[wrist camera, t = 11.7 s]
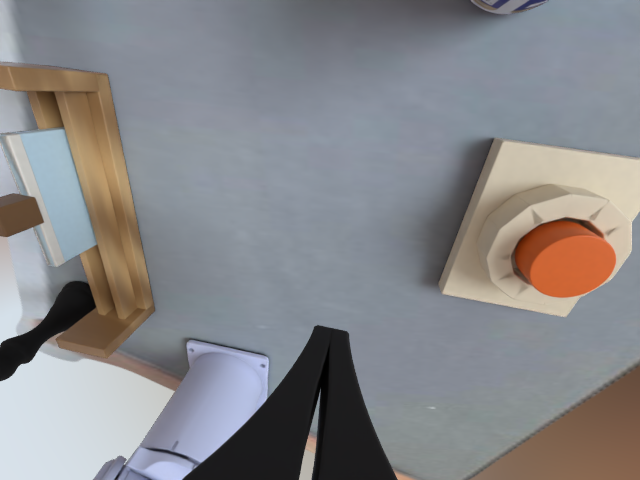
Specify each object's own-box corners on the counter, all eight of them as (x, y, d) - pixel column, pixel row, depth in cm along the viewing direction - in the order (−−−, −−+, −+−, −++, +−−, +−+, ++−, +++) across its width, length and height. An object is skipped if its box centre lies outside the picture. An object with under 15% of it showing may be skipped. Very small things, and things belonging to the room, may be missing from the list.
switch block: (555, 305, 20) (584, 338, 17) (437, 283, 20) (447, 312, 18) (651, 159, 15) (711, 173, 12) (494, 137, 16) (519, 145, 13)
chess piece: (98, 324, 29) (-23, 427, 20) (59, 296, 28) (-87, 391, 19) (116, 303, 27) (-8, 406, 18) (75, 272, 26) (-79, 365, 17)
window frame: (155, 310, 26) (106, 359, 21) (115, 302, 27) (58, 348, 22) (108, 73, 17) (7, 66, 13) (49, 65, 18) (-72, 54, 13)
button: (569, 284, 16) (590, 304, 15) (503, 272, 16) (516, 290, 15) (606, 226, 14) (635, 242, 13) (532, 214, 15) (551, 228, 13)
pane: (112, 240, 22) (29, 287, 16) (95, 236, 22) (7, 282, 16) (84, 128, 18) (-37, 142, 13) (63, 124, 18) (-64, 137, 13)
